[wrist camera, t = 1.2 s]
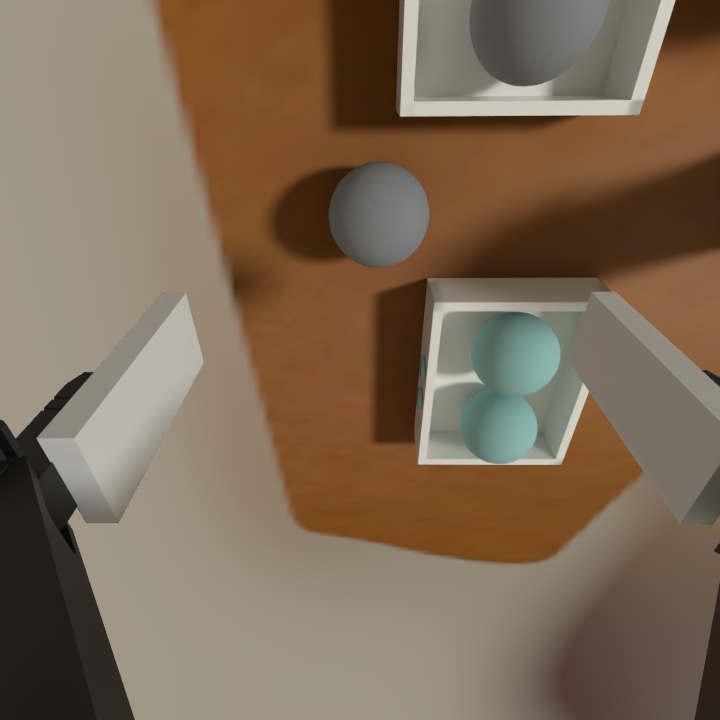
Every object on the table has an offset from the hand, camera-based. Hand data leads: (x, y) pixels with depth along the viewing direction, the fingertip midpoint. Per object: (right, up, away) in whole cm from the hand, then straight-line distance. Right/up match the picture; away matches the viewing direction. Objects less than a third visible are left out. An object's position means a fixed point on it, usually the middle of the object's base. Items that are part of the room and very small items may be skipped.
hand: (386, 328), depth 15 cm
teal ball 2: (+9, -4, +20) cm, 22 cm away
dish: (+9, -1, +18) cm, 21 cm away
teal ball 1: (+9, +1, +16) cm, 19 cm away
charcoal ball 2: (+7, +15, +6) cm, 18 cm away
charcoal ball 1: (0, +8, +12) cm, 14 cm away
